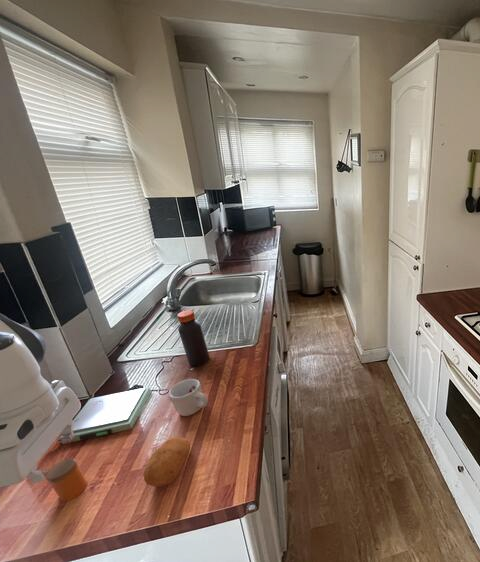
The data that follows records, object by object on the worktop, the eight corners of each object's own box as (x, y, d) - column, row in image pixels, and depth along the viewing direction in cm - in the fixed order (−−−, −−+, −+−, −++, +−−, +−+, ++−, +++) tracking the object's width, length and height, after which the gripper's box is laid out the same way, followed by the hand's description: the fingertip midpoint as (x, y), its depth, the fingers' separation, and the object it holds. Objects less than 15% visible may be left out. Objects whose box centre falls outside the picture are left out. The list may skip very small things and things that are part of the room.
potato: (142, 499, 67) (128, 475, 65) (171, 452, 79) (161, 430, 77) (175, 491, 68) (163, 467, 65) (199, 445, 80) (190, 423, 78)
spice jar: (54, 504, 67) (39, 482, 64) (67, 483, 71) (54, 461, 68) (80, 497, 68) (67, 475, 65) (92, 477, 72) (80, 455, 69)
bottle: (200, 368, 109) (185, 319, 101) (184, 365, 111) (169, 317, 103) (214, 357, 115) (201, 309, 107) (199, 354, 117) (185, 307, 109)
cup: (219, 403, 93) (213, 382, 90) (199, 424, 86) (192, 402, 83) (191, 397, 96) (184, 376, 93) (169, 416, 89) (161, 395, 86)
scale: (60, 446, 80) (56, 439, 79) (92, 404, 94) (88, 397, 93) (130, 430, 84) (127, 423, 83) (151, 392, 98) (148, 385, 97)
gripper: (41, 378, 69) (67, 424, 74) (-43, 457, 51) (-1, 511, 56) (75, 372, 70) (98, 418, 76) (5, 447, 52) (42, 499, 57)
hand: (56, 458), depth 66 cm, fingers open, 8 cm apart
